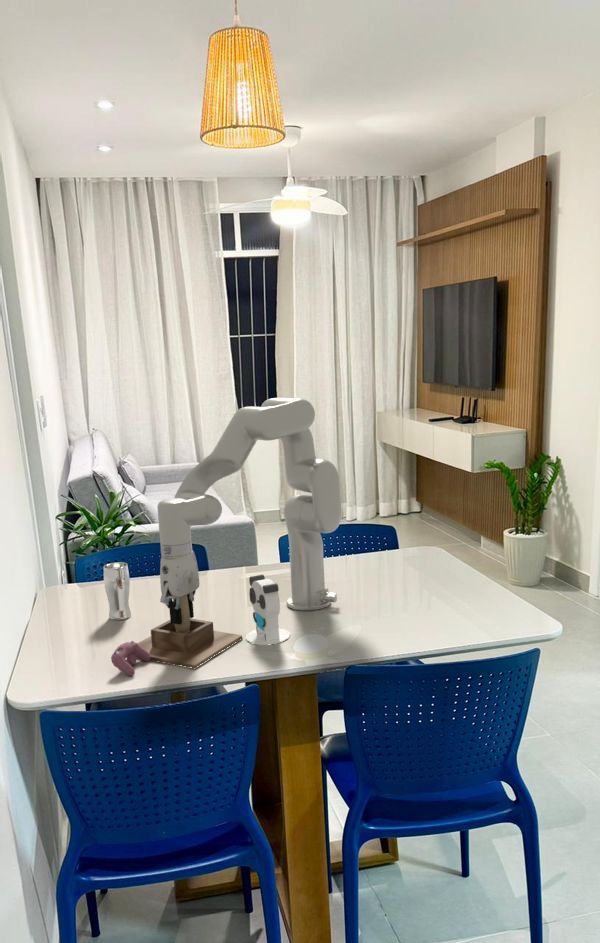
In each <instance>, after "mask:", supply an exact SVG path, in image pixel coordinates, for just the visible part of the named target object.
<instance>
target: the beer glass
mask: <svg viewBox="0 0 600 943" xmlns="http://www.w3.org/2000/svg"><path fill="white" fill-rule="evenodd" d="M130 583H131V582H130V573H129V567H128V563H126V562H120V561H119V562H117V561H116V562H111V563H106V564H105V565H104V566H103V584H104V589H105V594H106V597H107V600H108V601H107V602H108V604H109V612H108V619H109V620H111V621H124V620H127V619H129V618H130V617H131V616H132V612H131V609H130V605H129V604H130V603H129V597H130V588H131V587H130V585H131V584H130Z"/></svg>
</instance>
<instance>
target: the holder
mask: <svg viewBox="0 0 600 943" xmlns="http://www.w3.org/2000/svg"><path fill="white" fill-rule="evenodd" d="M189 631H190V632H189V633H187V634H184V633H178V632H176V628H175V624H173V623H171V622H170V619H169V620H167V621H165V622H162V623H161V624H159V625H158V626H155V627H153V628H152V629H150V636H148V637H146V638H144V639H143V640H141V641H139V642H136V643H137V644H138V645H139V646H140V647H141V648H143V649H144V650H146V651H147V652H148V653H149V655H150V658H151V659H150V660H149V661H151V660H154V661H153V662H156V661H159V662H158V663H161V662H165V663H164V664H166V663H170V664H169V665H171V664H175V665H174V666H176V665H182V666H186V667H192V668H196V667H197V666H199V665H200V664H202V663H204V662H205V661H207V660H208V659H210V658H211V657H213V656H214V655H216V654H218V653H219V652H221V651H222V650H224V649H226V648H227V647H229V646H231V645H232V644H234V643H235V642H237V641H239V640H240V639H242V640H243V635H242V634H237V633H230V632H225V631H220V630H219V631H218V630H215V628H214V622H213V621H210V620H204V619H198V618H190V629H189ZM240 641H241V640H240ZM240 641H239V642H240ZM237 643H238V642H237ZM234 645H235V644H234ZM232 646H233V645H232ZM232 646H231V647H232ZM229 648H230V647H229ZM226 650H227V649H226ZM221 653H222V652H221ZM218 655H219V654H218ZM210 660H211V659H210ZM207 662H208V661H207ZM204 664H205V663H204ZM186 667H185V668H186ZM199 667H200V666H199ZM196 669H197V668H196Z"/></svg>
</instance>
